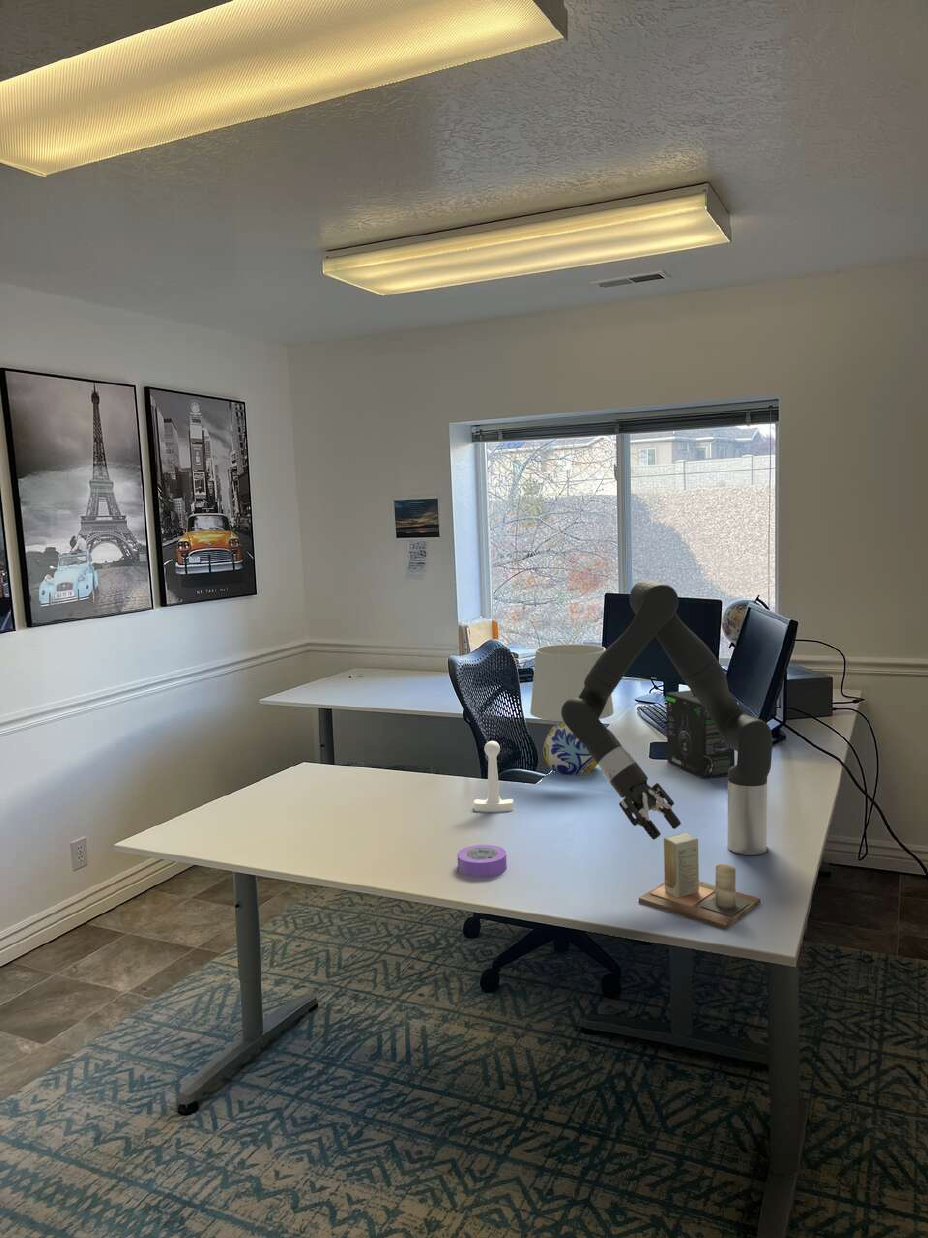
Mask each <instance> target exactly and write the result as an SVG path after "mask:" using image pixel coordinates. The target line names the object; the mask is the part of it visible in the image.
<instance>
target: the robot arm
mask: <svg viewBox="0 0 928 1238" xmlns="http://www.w3.org/2000/svg"><path fill="white" fill-rule="evenodd" d="M679 601H680V600H679V595H678V593H677V591H676V590H675V589H674V588H673V587H672V586H670V585H668V584H665V583H662V582H660V581H655V580H648V579H647V580H642V581H639V582H637V583H636V584H635V585H633V587H632V589H631V591H630V593H629V604H630V607H631V609H632V611H633V613H634V614H635V615H634V619H633V620H632V622H631V623H630V624H629V625H628V627H627V628H626V630H625V631H624V632H623V633H622V634H620V636H619V637H618V638H617V639H616V640H615V641H614V642H613V643H611V644H610V646H608V647H607V649H606V648H605V649H606V650H605V651H604V652H603V654H602V655H601V656H600V657H599V659H598V660H597V661H596V663H595V664H594V666H593V667H592V669H591V670H590V672H589V673H588V675H587V677H586V678H585V681H584V689H583V690H582V692H581V694H580V696H579V697H578V698H572V699H569V700H567V701H566V702H565V703H564V705H563V707H562V710H561V715H562V719H563V721H564V723H565V724H566V725H567V727H568V728H569V729H570V730H571V732H572V733H573V734H574V735H575V736H576V737H577V738H578V739H579V740H580V741H581V742H582V743H583V745H584V746H585V747H586V749H587V750H588V752H589V753H590V755H591V756H592V757H593V759H594V760H595V761H596V763H597V766H598V767H599V768H600V771H601V772H602V774H603V775H604V777H605V778H606V779H607V781H608V782H609V784H610V785H611V786H612V787H613V789H614V790H615V791H616V793H617V794H618V796H619V797H620V798H621V799H622V800H620V802H618V805H619V807H620V808H621V810H622V812H623V813H624V815H625V816H626V817H627V818H628V820H629V821H630V823H631V824H632V825H633V826H634V827H637V826H639V827H642V828H643V829H644V830H645V832H646V833H647V835H648V836H649V837H650V838H651V839H652V840H654V841H655V840H657V838H659V837H660V836H661V832H660V830H659V828H658V827H657V826H656V825H655V824H654V823H653V820H651V819H650V816H649V811H651V810H652V811H654V812H655V811H656V812H658V813H660V814H662V815H663V817H664V819H665V820H666V821H667V823H668V824H669V826H670V827H671V828H672V830H673V829H674V830H676V829H677V828H678V827H679V826H680V825H682V823H681V821H680V819H679V818H678V816H677V815H676V814H675V813H674V811H673V810H672V807H673V805H675V802H674V800H673V799H672V798H671V797H670V796H669V795H668V793H667V792H666V791H665V790H664V789H663V787H662V786H661V785H660V784H659V782H658V783H657V782H655V784H654V785H652V786H651V785H649V784H648V783H647V782H648V780H649V779H648V778H649V777H648V776H647V774H646V772H644V771H643V769H642V768H641V767H640V765H639V764H638V763H637V762H636V760H635V759H634V757H633V756H632V755H631V753H629V751H627V749H625V747H624V746H623V745H622V743H621V742H620V741H619V740H618V738H617V737H616V735H614V734H613V732H612V731H611V730H610V729H608V727H606V726H605V725H604V724H603V722H601V719H599V717H600V715H601V713H602V711H603V709H604V707H605V705H606V703H607V700H608V698H609V696H610V695H612V694H613V692H614V691H615V690H616V688H617V687H618V685H619V684H620V682H621V680H622V679H623V677H624V676H625V675H626V673H627V672H628V670H629V669H630V668H631V666H632V664H633V663H634V662H635V660H636V659H637V658H638V656H639V655H640V654H641V653H642V651H643V650H644V649H645V648H646V647H647V646H648V644H649V643H650V642H651V641H652V640H653V639H654V638H656V640H657V641H658V643H659V644H660V646H661V647H662V650H664V652H665V655H666V656H667V657H668V659H669V660H670V662H671V663H672V665H673V666H674V668H675V669H676V671H677V673H678V675H679V676H680V677H681V679H682V680H683V681H684V683H685V684H686V686H687V687H688V688H689V690H691V691H692V692H693V693H694V695H695V696H696V698H697V699H698V700H699V702H700V703H701V704H702V705H703V707H704V708H705V709H706V711H707V712H708V714H709V715H710V717H711V718H712V720H713V722H714V724H715V726H716V728H717V729H718V731H719V733H720V735H721V737H722V739H723V740H724V742H725V743H726V744H727V745H728V746H729V747H730V748H731V749H733V750H734V752H737V759H736V764H735V766H732V767H730V768H729V770H728V775H727V849H728V850H729V851H731V852H733V853H735V854H740V855H743V856H745V855H746V856H757V855H761V854H764V853H766V852H767V848H768V847H767V843H768V842H767V841H768V840H767V839H768V776H769V774H770V772H771V769H772V768H771V767H772V755H773V754H772V753H773V734H772V730H771V727H770V726H769V724H768V723H767V722H765V721H764V720H762V719H759V718H757V717H754V716H751V715H749V714H747V713H746V712H745V711H744V710H743V709H742V708H741V707H740V705H739V704H738V702H737V701H736V700H735V699H734V697H733V696H732V694H731V692H730V690H729V689H730V688H729V684H728V680H727V675H726V673H725V670H724V668H723V666H722V665H721V663H720V662H719V661H718V659H717V658H716V656H715V654H714V653H713V652H712V651H711V649H710V648H709V646H708V645H707V644H705V642H703V640H701V638H699V637H698V636H697V634H696V633H694V632H693V631H692V630H691V629H690V628H689V627H688V626H687V625H686V624H685V623H684V622H683V621H682V619H680V617H679V615H678V614H677V610H678V608H679ZM634 816H635V817H634Z"/></svg>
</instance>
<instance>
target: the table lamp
mask: <svg viewBox="0 0 928 1238" xmlns="http://www.w3.org/2000/svg"><path fill="white" fill-rule="evenodd" d="M605 650H606V648H605V647H604V646H601V645H593V644H576V643H572V644H568V643H567V644H555V645H554V644H552V645H551V644H550V645H544V646H540V647H537V648H536V649H535V655H534V656H535V658H534V668H533V680H532V688H531V689H532V690H531V698H530V699H531V702H530V712H529V714H530V715H531V716H532V717H535V718H538V719H542V720H546V721H554V722H556V723H554V725H553V726H552V727H551V729H550V730H549V732H548V733H547V735H546V737H545V739H544V742H543V748H542V751H543V758H544V759H545V762H546V764H547V766H548V767H549V769H550V770H551V771H552V772H553V771H555V772H554V773H555V774H558V775H562V776H582V775H587V774H590V773H592V772H593V771H594V770H595V769H596V767H597V766H598V764H597V763H596V761H595V760H594V759H593V757H592V756H591V755H590V753H589V752H588V750H587V749H586V747H585V746H584V745H583V743H582V742H581V741H580V740H579V739H578V738H577V737H576V736H575V735H574V734H573V733H572V732H571V730H570V729H569V728H568V727H567V725H566V724H565V723H564V721H563V719H562V715H561V710H562V707H563V705H564V703H565V702H566V701H567V700H569V699H572V698H578V697H579V696H580V694H581V692H582V690H583V689H584V681H585V678H586V677H587V675H588V673H589V672H590V670H591V669H592V667H593V666H594V664H595V663H596V661H597V660H598V659H599V657H600V656H601V655H602V654H603V652H604V651H605ZM614 713H615V711H614V704H613V697H612V694H611V695H610V696H609V698H608V700H607V703H606V705H605V707H604V709H603V711H602V713H601V715H600V717H599V720H601V719H606V718H609V717H611V716H612V715H613V714H614Z"/></svg>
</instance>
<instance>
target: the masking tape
mask: <svg viewBox="0 0 928 1238" xmlns="http://www.w3.org/2000/svg"><path fill="white" fill-rule="evenodd" d="M507 867H508V865H507V851H506V850H505V849H504V848H502V847H501V846H497V845H492V844H475V845H470V846H466V847H464V848H462V849H460V850H459V851H458V853H457V870H458V872H459V873H461V874H462V875H464V876H466V877H471V878H490V877H491V878H492V877H495V876H499V875H501V874H503V873H505V872H506V870H507V869H508V868H507Z"/></svg>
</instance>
